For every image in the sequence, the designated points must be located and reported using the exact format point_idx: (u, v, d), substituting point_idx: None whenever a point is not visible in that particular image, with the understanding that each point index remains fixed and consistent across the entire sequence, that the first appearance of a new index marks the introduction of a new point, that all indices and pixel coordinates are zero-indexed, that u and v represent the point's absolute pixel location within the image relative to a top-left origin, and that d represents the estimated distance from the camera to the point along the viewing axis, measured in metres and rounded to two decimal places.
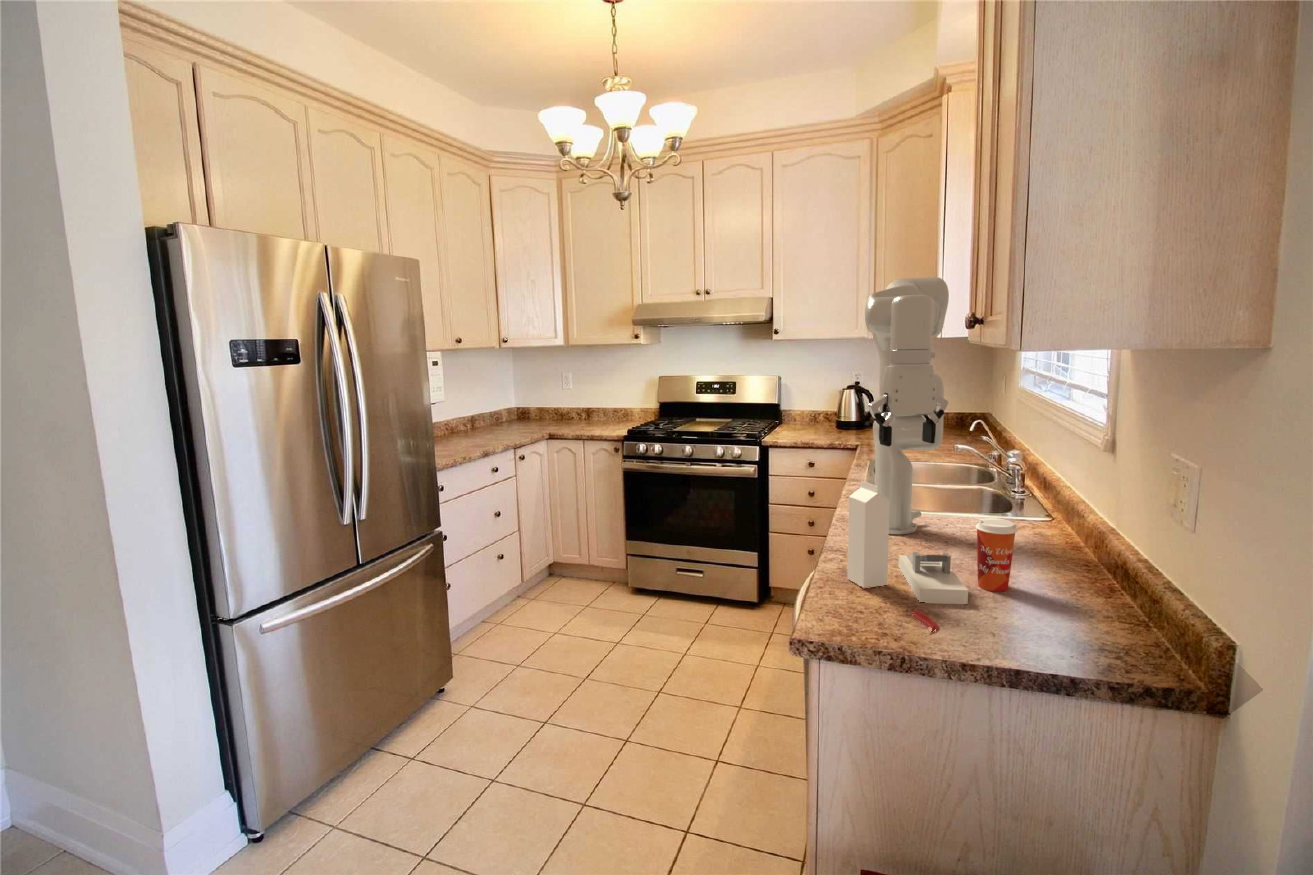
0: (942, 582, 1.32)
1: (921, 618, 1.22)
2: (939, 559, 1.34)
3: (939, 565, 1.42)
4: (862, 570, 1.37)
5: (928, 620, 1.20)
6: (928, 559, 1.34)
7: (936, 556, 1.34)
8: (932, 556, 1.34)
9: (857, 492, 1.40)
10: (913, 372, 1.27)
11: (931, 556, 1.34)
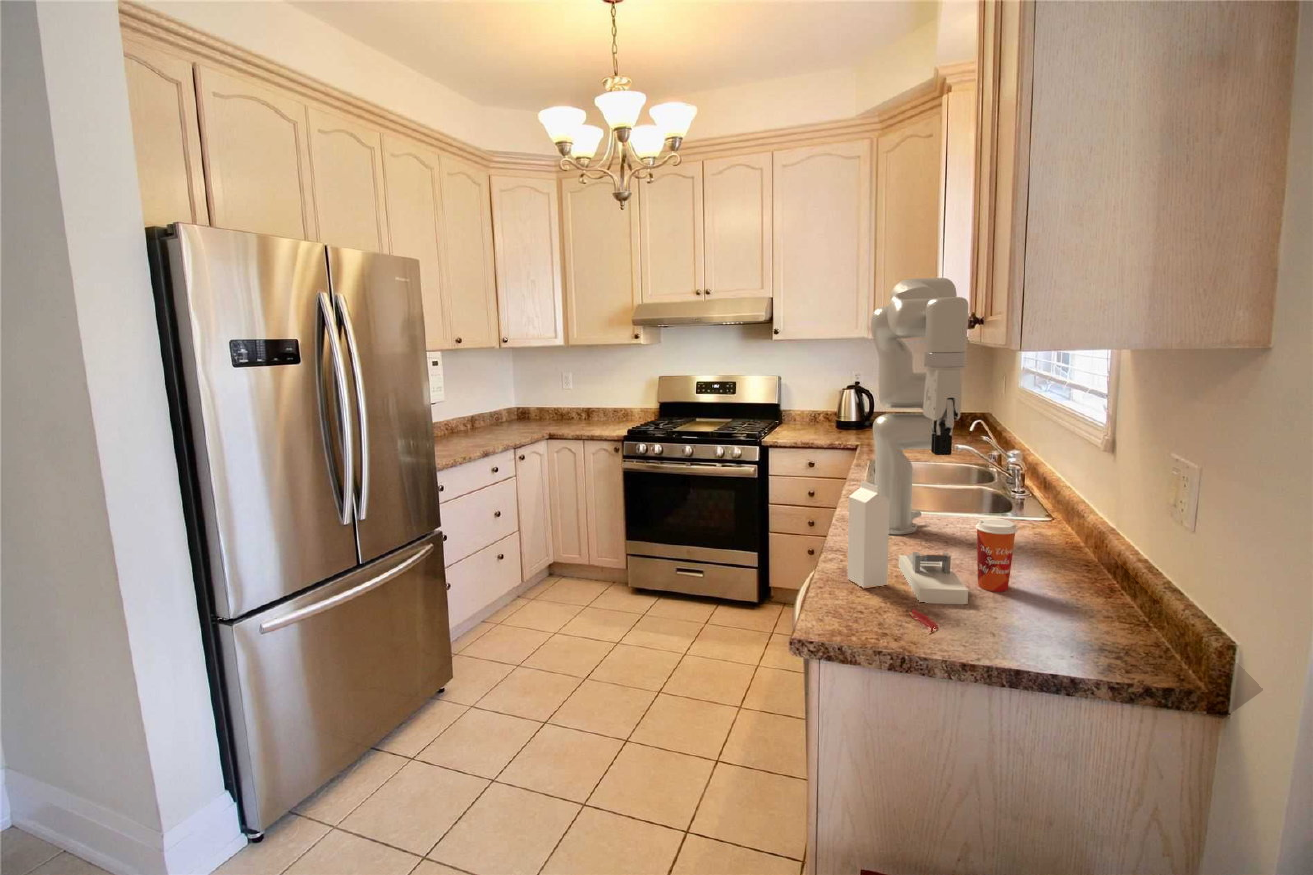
0: (942, 582, 1.32)
1: (920, 618, 1.22)
2: (939, 559, 1.34)
3: (939, 565, 1.42)
4: (862, 570, 1.37)
5: (927, 620, 1.20)
6: (928, 559, 1.34)
7: (936, 556, 1.34)
8: (932, 556, 1.34)
9: (857, 492, 1.40)
10: None
11: (931, 556, 1.34)
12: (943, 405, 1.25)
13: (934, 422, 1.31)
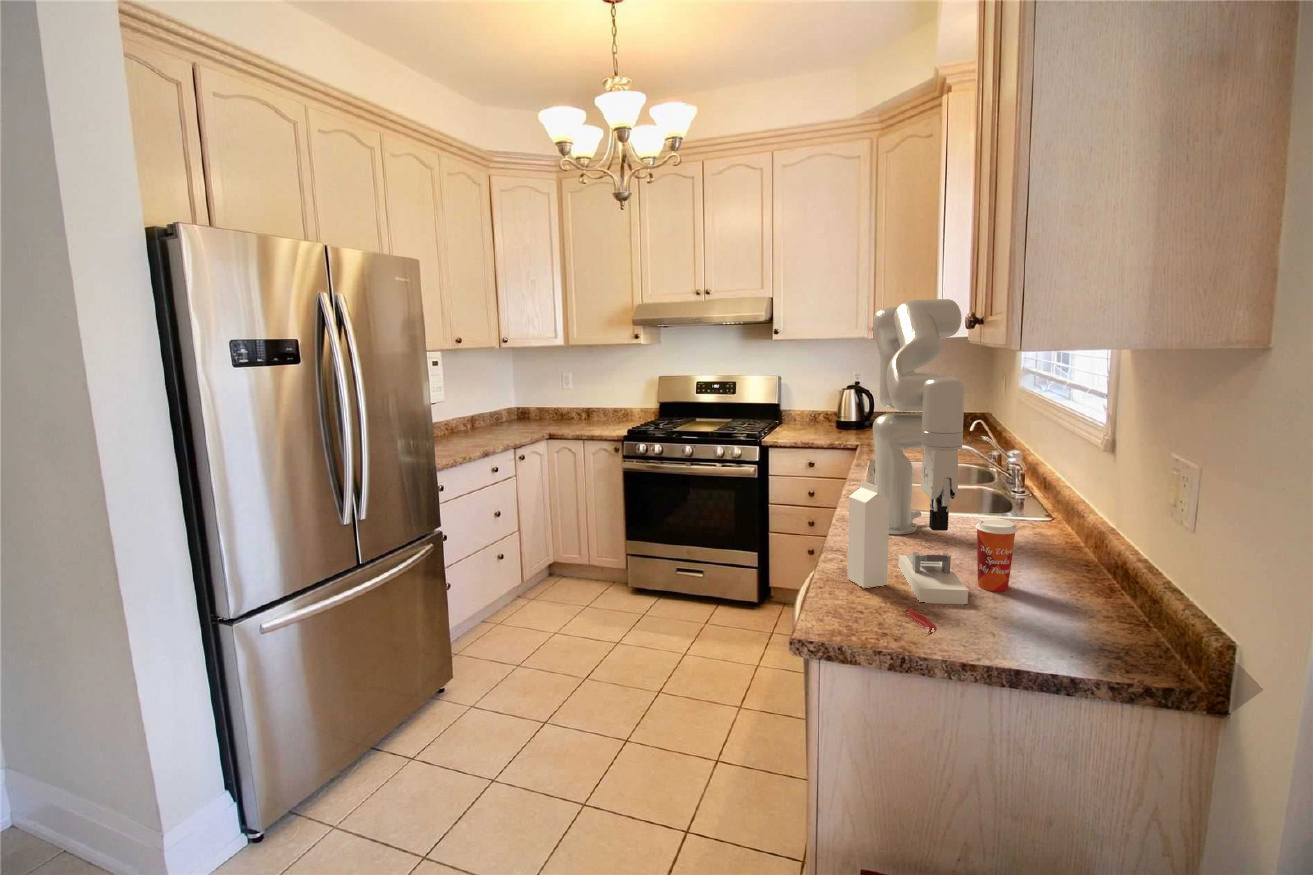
0: (942, 582, 1.32)
1: (917, 618, 1.22)
2: (939, 559, 1.34)
3: (939, 565, 1.42)
4: (862, 570, 1.37)
5: (925, 620, 1.20)
6: (928, 559, 1.34)
7: (936, 556, 1.34)
8: (932, 556, 1.34)
9: (857, 492, 1.40)
10: None
11: (931, 556, 1.34)
12: (940, 485, 1.27)
13: None
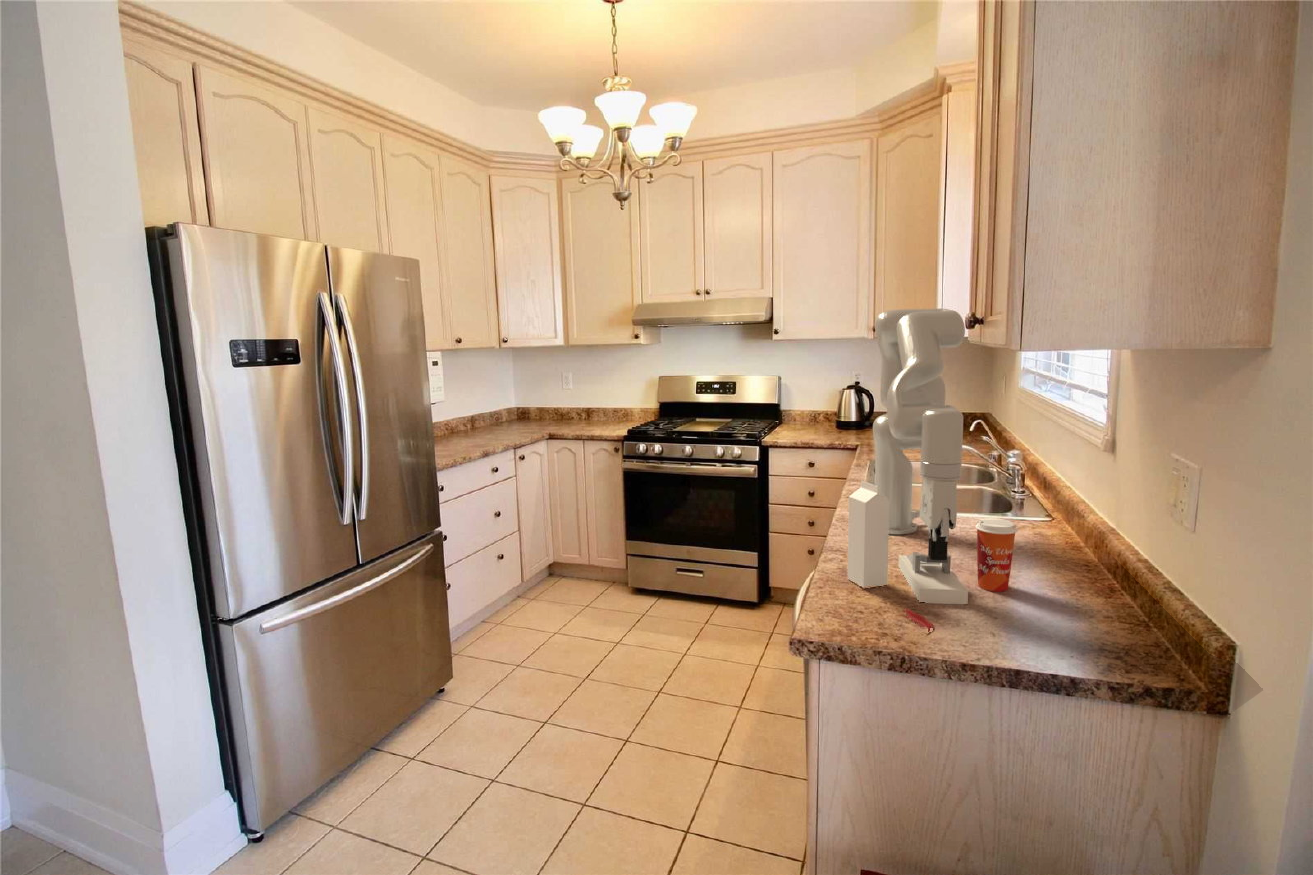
0: (942, 582, 1.32)
1: (915, 618, 1.22)
2: (939, 561, 1.34)
3: (939, 565, 1.42)
4: (862, 570, 1.37)
5: (923, 620, 1.20)
6: (928, 561, 1.34)
7: None
8: None
9: (857, 492, 1.40)
10: None
11: None
12: (939, 515, 1.28)
13: None
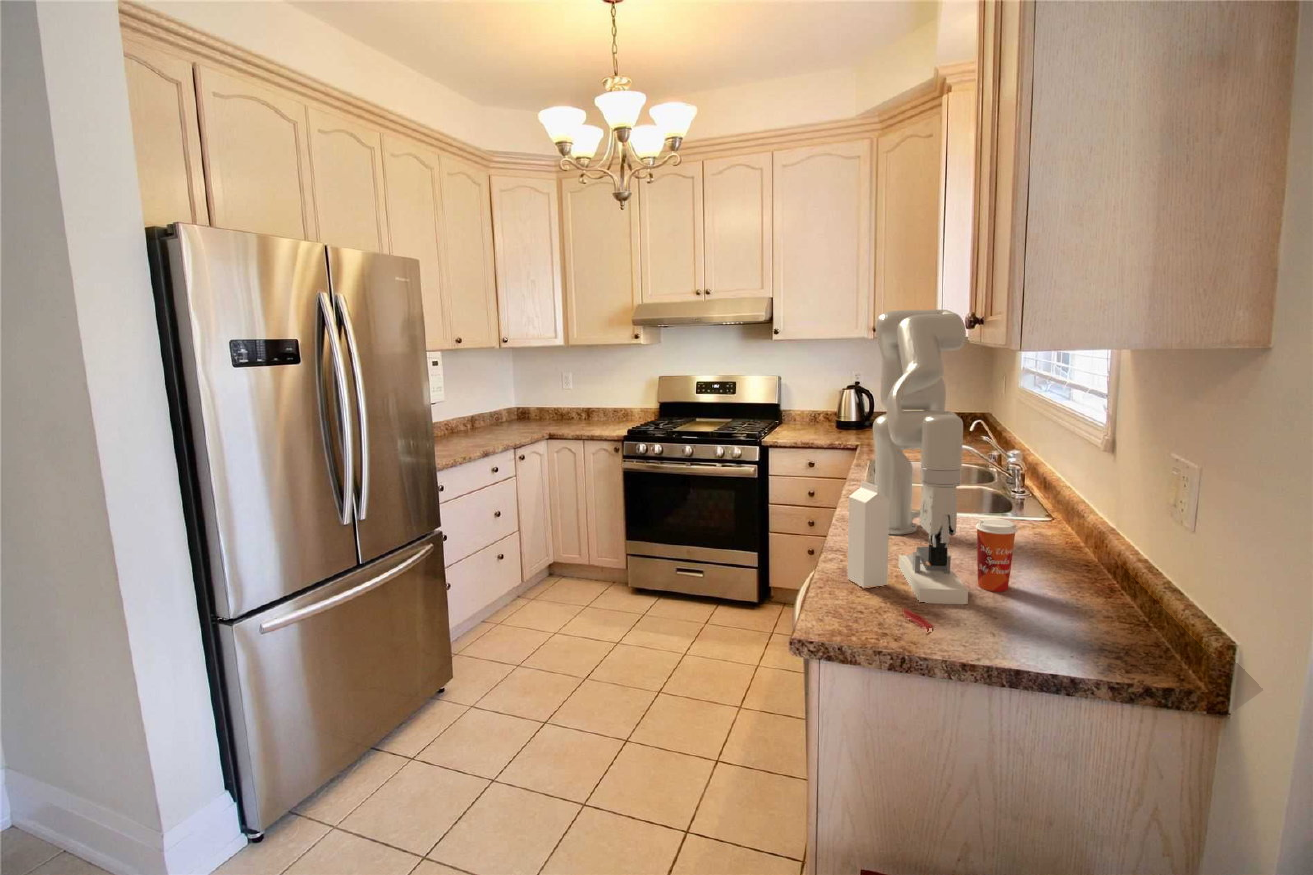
0: (942, 582, 1.32)
1: (913, 618, 1.22)
2: (939, 569, 1.34)
3: None
4: (862, 570, 1.37)
5: (921, 620, 1.20)
6: (928, 569, 1.34)
7: (936, 566, 1.34)
8: (932, 566, 1.34)
9: (857, 492, 1.40)
10: None
11: (931, 566, 1.34)
12: (939, 522, 1.28)
13: None
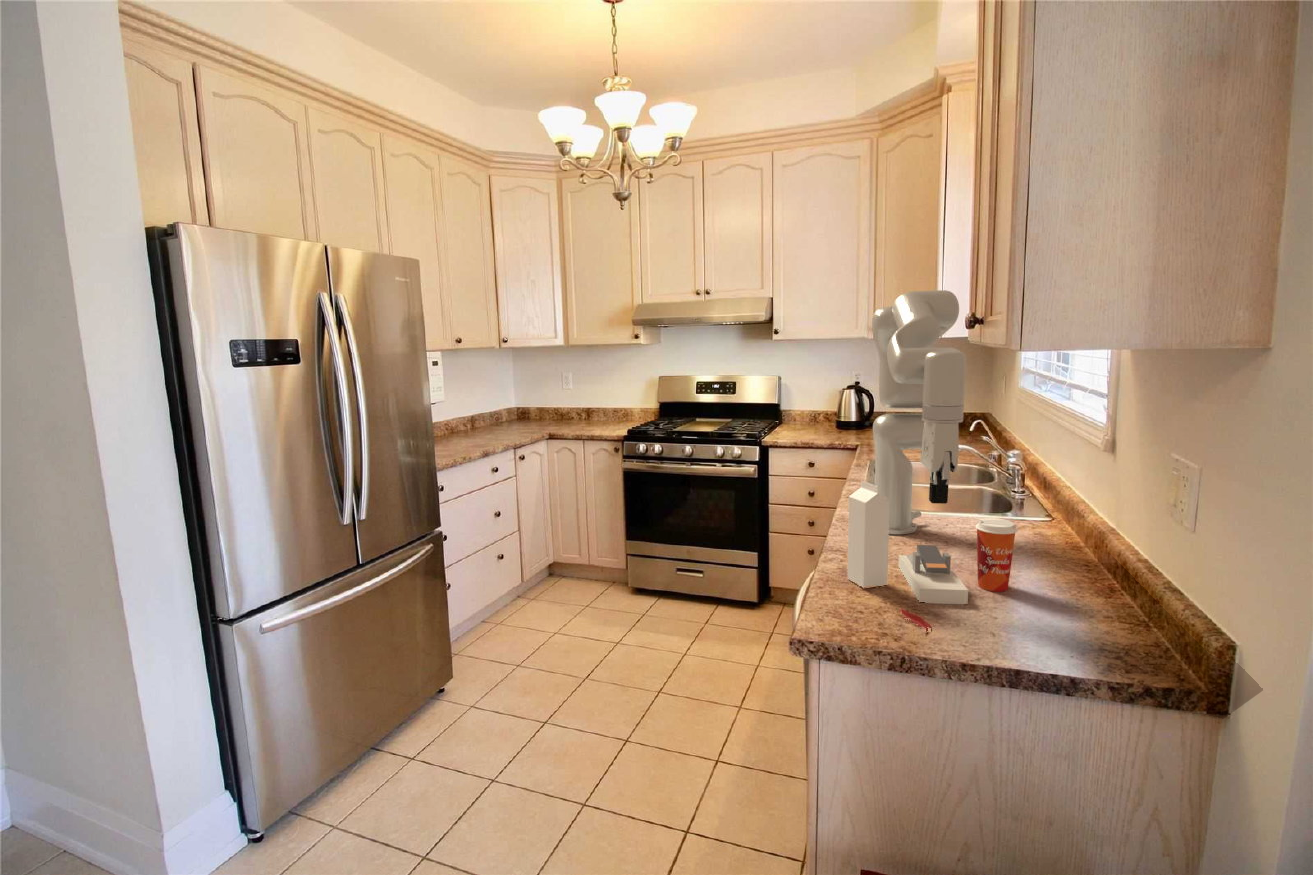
0: (942, 582, 1.32)
1: (912, 619, 1.22)
2: (939, 571, 1.34)
3: None
4: (862, 570, 1.37)
5: (920, 620, 1.20)
6: (928, 571, 1.34)
7: (936, 568, 1.34)
8: (932, 568, 1.34)
9: (857, 492, 1.40)
10: None
11: (931, 568, 1.34)
12: (940, 458, 1.27)
13: None
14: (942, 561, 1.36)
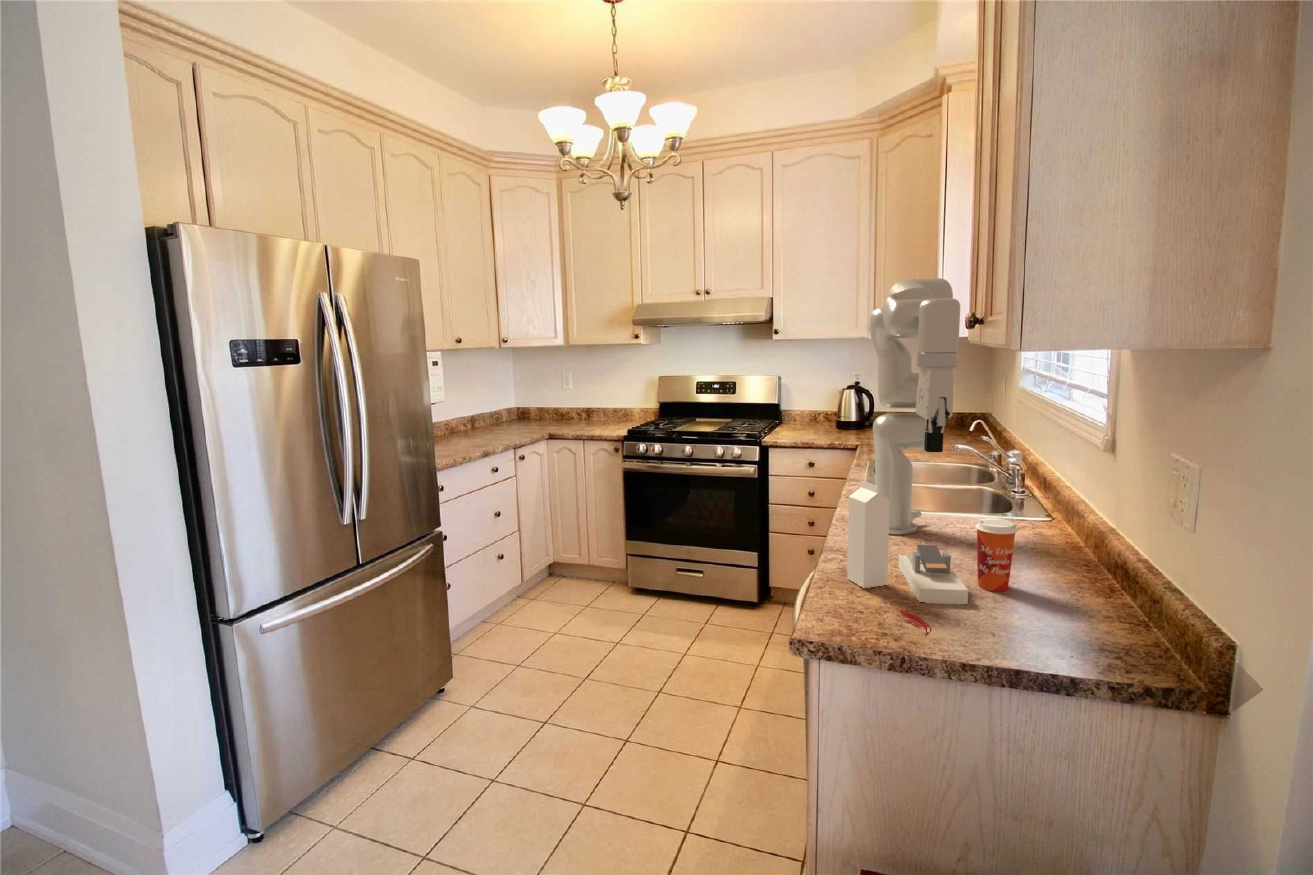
0: (942, 582, 1.32)
1: (910, 619, 1.22)
2: (939, 571, 1.34)
3: None
4: (862, 570, 1.37)
5: (919, 620, 1.20)
6: (928, 571, 1.34)
7: (936, 569, 1.34)
8: (932, 568, 1.34)
9: (857, 492, 1.40)
10: None
11: (931, 568, 1.34)
12: (935, 404, 1.27)
13: (927, 420, 1.34)
14: (942, 561, 1.36)
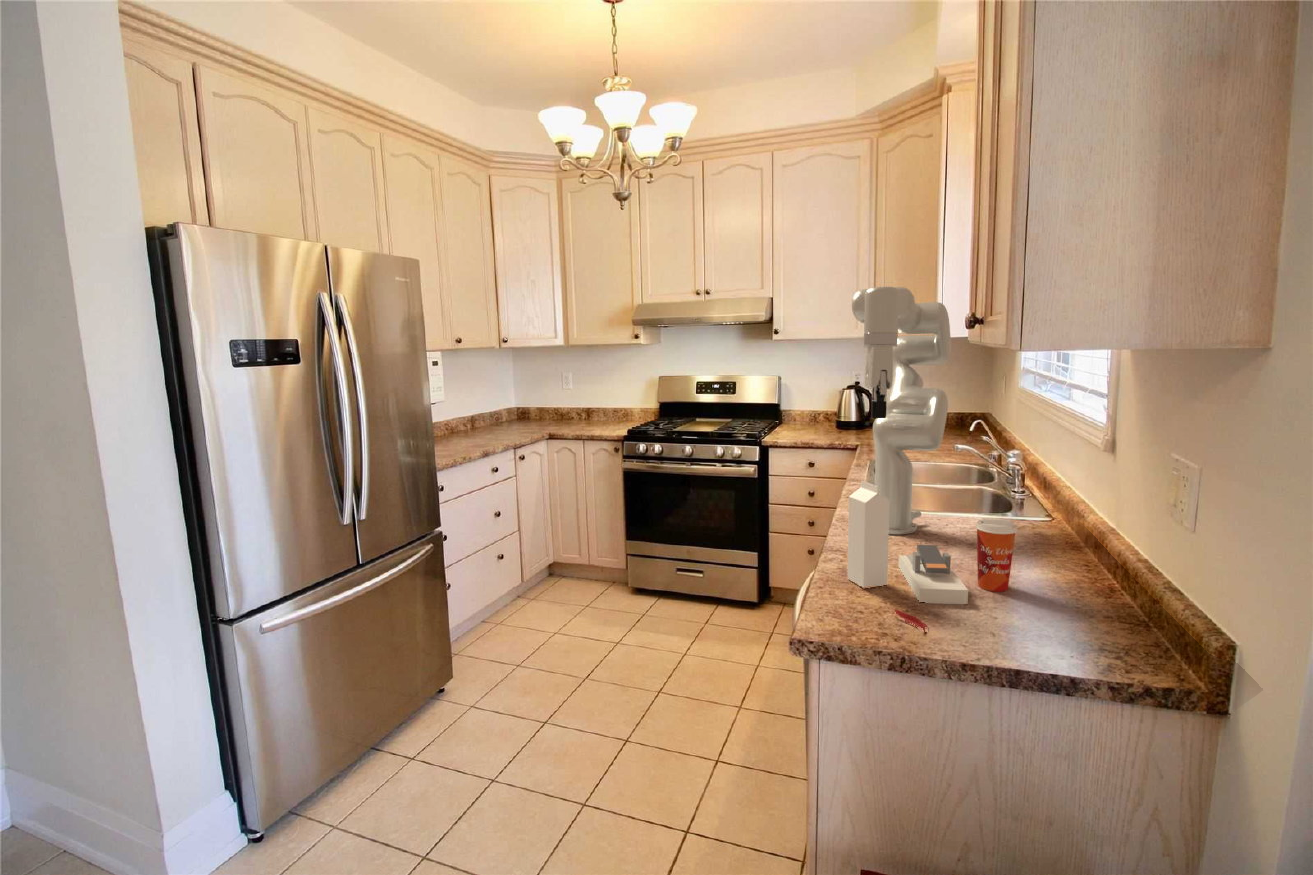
0: (942, 582, 1.32)
1: (907, 619, 1.22)
2: (939, 571, 1.34)
3: None
4: (862, 570, 1.37)
5: (916, 621, 1.20)
6: (928, 571, 1.34)
7: (936, 569, 1.34)
8: (932, 569, 1.34)
9: (857, 492, 1.40)
10: None
11: (931, 568, 1.34)
12: (877, 376, 1.51)
13: (873, 391, 1.57)
14: (942, 561, 1.36)
